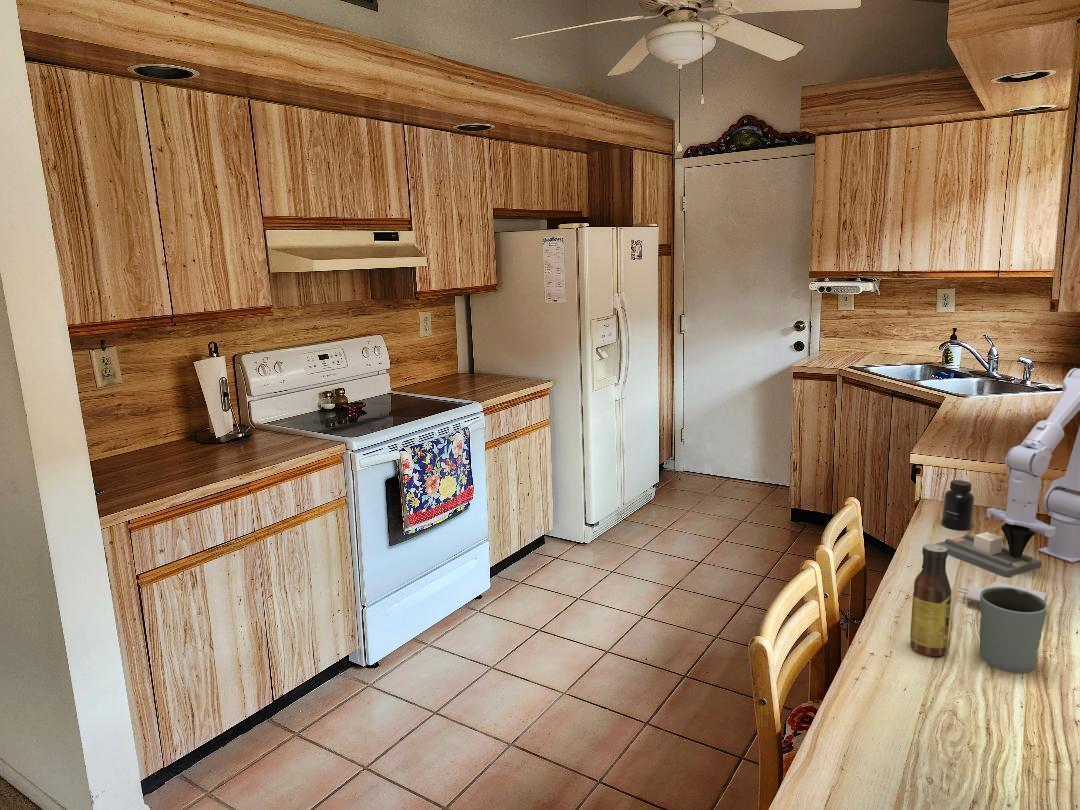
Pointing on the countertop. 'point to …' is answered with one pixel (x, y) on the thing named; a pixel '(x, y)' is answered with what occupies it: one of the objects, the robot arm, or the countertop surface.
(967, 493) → the supplement bottle
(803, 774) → the countertop surface
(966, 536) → the switch track
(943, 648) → the sauce bottle
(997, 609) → the grey cup
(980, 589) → the charger
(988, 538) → the slider knob
